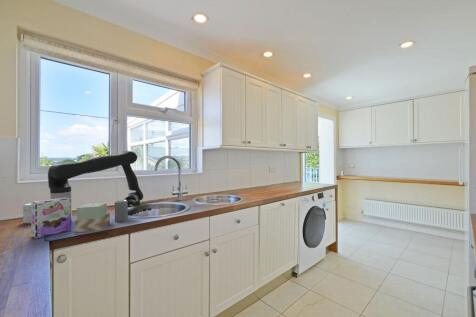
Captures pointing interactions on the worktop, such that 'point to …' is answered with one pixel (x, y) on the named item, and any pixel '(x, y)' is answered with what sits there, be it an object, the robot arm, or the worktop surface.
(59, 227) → the candy box
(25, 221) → the small box
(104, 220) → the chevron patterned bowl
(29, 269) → the worktop surface
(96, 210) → the sage block
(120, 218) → the grey block
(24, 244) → the worktop surface
